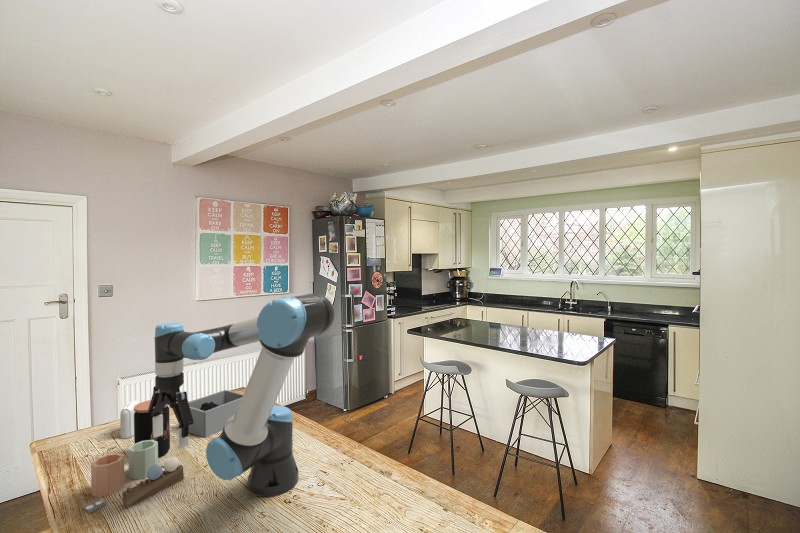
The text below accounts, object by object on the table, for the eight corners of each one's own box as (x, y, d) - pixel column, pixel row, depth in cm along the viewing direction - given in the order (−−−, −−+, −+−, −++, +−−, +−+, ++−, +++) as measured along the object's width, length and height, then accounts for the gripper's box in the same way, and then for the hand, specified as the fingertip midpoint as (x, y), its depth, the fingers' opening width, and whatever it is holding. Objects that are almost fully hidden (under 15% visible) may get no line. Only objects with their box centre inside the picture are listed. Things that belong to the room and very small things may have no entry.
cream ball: (181, 469, 120) (181, 456, 120) (168, 475, 116) (168, 462, 116) (174, 466, 122) (174, 453, 122) (161, 472, 118) (161, 459, 118)
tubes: (170, 474, 124) (169, 446, 124) (90, 513, 105) (89, 481, 105) (149, 464, 130) (149, 438, 130) (70, 499, 111) (69, 469, 111)
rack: (183, 479, 121) (183, 465, 121) (127, 508, 107) (126, 492, 107) (179, 477, 122) (178, 463, 122) (122, 506, 108) (122, 489, 108)
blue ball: (165, 477, 115) (165, 464, 115) (151, 484, 112) (151, 470, 112) (157, 473, 117) (157, 460, 117) (143, 480, 114) (143, 467, 114)
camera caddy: (249, 418, 167) (248, 395, 167) (204, 437, 149) (204, 412, 149) (225, 411, 175) (225, 389, 174) (181, 429, 157) (180, 404, 157)
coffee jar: (153, 463, 131) (152, 411, 130) (126, 460, 133) (125, 408, 132) (177, 448, 141) (176, 399, 141) (152, 445, 143) (151, 397, 143)
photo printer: (131, 428, 158) (130, 398, 158) (142, 427, 159) (142, 397, 159) (118, 439, 148) (118, 407, 148) (131, 438, 149) (130, 406, 149)
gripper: (206, 376, 115) (206, 446, 116) (159, 364, 128) (160, 427, 128) (181, 384, 109) (182, 457, 109) (134, 370, 121) (135, 436, 122)
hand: (170, 441), depth 119 cm, fingers open, 13 cm apart
